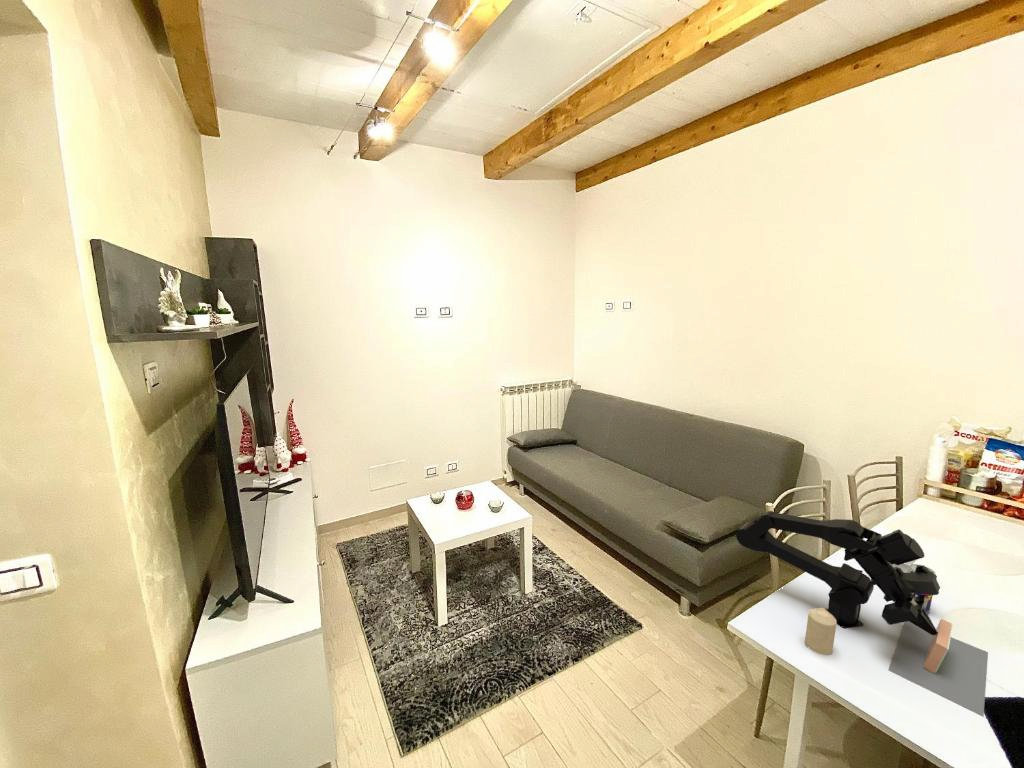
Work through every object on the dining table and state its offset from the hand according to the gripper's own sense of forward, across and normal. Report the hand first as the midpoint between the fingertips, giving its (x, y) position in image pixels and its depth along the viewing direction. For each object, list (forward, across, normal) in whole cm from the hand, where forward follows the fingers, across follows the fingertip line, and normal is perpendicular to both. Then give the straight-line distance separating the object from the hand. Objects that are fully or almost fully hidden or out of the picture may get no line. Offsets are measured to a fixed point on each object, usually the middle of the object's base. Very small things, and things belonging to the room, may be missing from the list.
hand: (935, 634), depth 97 cm
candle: (-8, -16, +18) cm, 25 cm away
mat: (+6, 0, +4) cm, 7 cm away
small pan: (-1, +35, +11) cm, 37 cm away
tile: (+4, 0, +4) cm, 6 cm away
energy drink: (+2, +20, +8) cm, 21 cm away
